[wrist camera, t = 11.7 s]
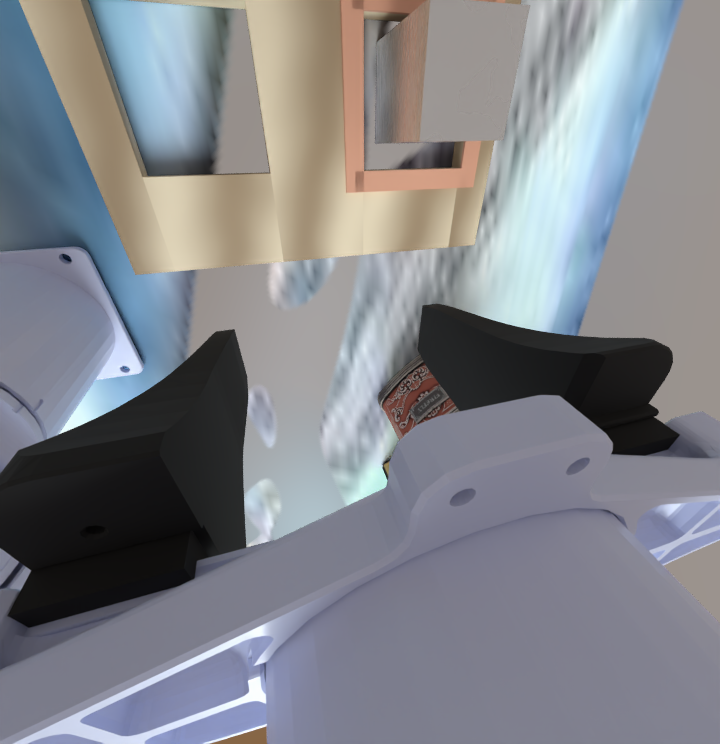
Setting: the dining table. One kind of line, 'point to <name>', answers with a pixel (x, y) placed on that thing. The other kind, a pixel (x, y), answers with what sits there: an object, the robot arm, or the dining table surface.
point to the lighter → (414, 398)
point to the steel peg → (448, 72)
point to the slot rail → (283, 145)
